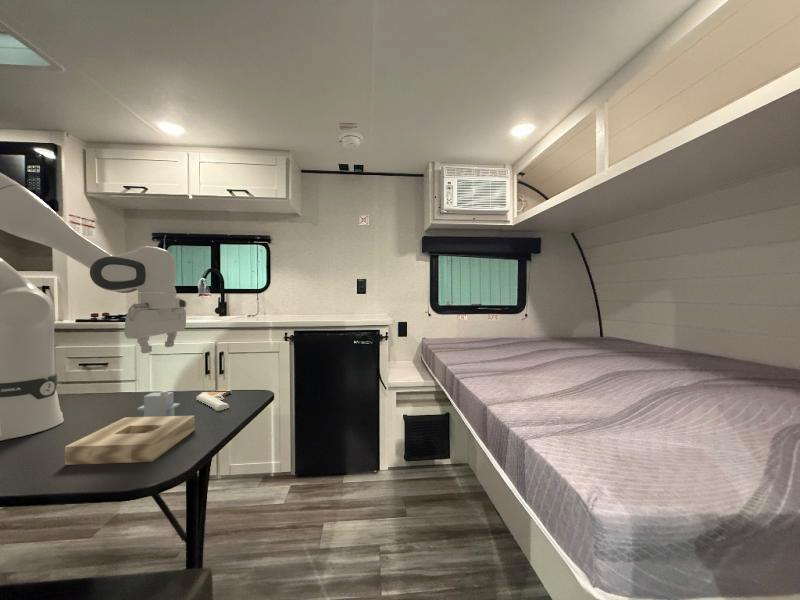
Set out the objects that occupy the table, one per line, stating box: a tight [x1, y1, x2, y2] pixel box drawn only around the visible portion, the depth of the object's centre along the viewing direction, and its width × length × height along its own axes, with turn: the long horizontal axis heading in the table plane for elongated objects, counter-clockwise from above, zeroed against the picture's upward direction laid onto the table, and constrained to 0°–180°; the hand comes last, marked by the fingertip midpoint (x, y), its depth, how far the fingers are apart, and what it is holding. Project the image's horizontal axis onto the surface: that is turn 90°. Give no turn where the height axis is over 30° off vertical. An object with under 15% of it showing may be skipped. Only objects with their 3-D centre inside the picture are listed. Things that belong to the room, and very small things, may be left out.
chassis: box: [64, 415, 196, 466], centre depth 75 cm, size 18×16×4 cm
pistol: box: [196, 388, 232, 412], centre depth 107 cm, size 2×20×11 cm
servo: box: [136, 390, 181, 417], centre depth 90 cm, size 10×3×9 cm, turn 94°
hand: (158, 349), depth 90 cm, fingers open, 8 cm apart
